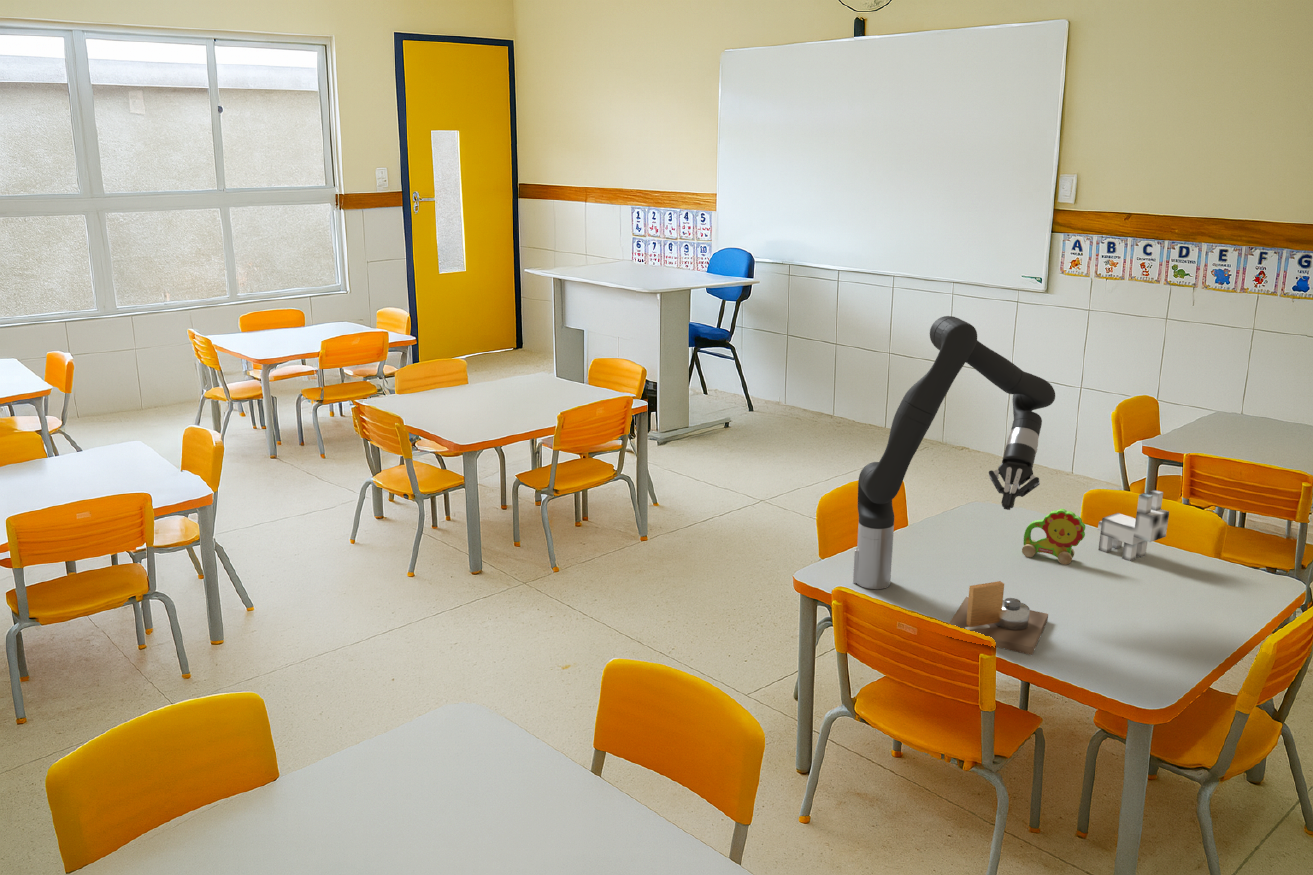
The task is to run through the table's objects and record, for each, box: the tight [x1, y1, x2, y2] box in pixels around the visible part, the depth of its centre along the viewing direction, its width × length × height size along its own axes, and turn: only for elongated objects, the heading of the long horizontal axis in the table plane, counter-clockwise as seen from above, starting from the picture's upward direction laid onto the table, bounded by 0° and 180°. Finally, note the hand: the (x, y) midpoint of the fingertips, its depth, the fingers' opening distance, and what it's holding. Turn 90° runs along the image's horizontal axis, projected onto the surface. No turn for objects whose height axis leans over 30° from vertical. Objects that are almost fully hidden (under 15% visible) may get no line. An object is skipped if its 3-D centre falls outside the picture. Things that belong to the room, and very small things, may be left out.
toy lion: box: [1021, 508, 1086, 565], centre depth 281 cm, size 16×5×15 cm, turn 58°
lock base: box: [948, 596, 1049, 656], centre depth 241 cm, size 20×20×2 cm
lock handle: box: [966, 580, 1031, 630], centre depth 237 cm, size 16×8×11 cm, turn 108°
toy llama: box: [1097, 489, 1170, 562], centre depth 283 cm, size 8×18×20 cm, turn 33°
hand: (1006, 508), depth 248 cm, fingers closed
